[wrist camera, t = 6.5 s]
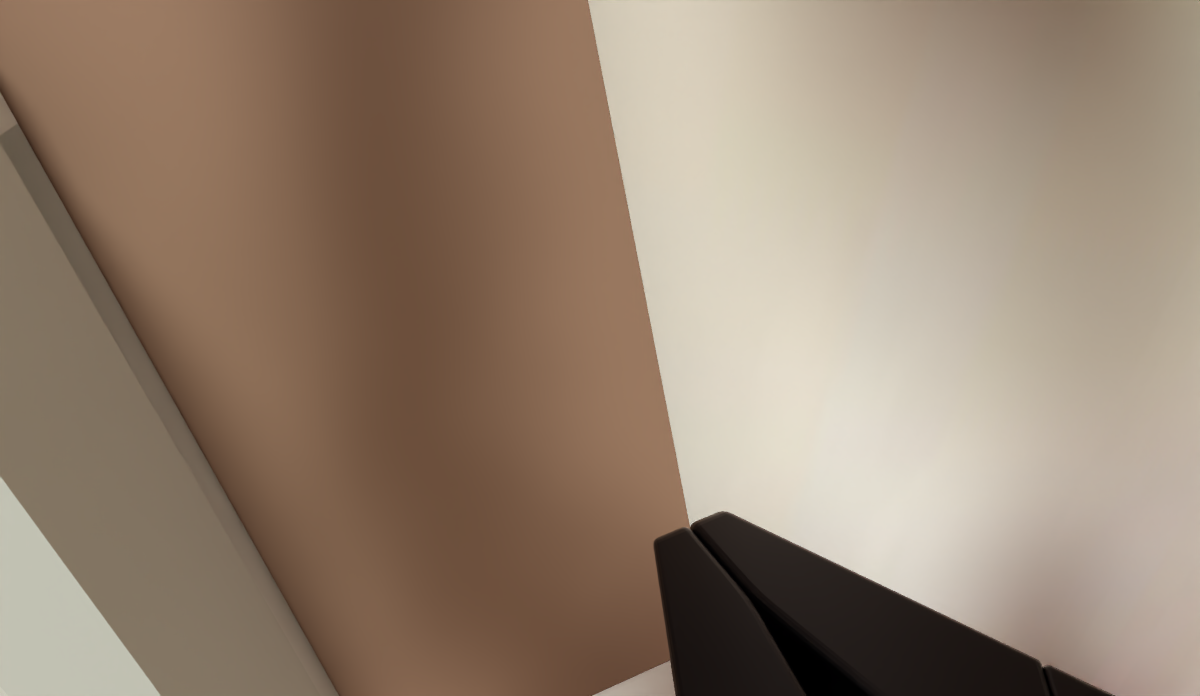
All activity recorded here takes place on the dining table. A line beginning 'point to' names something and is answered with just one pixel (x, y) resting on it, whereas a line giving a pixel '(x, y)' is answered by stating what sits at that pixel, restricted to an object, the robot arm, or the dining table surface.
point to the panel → (113, 494)
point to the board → (384, 313)
